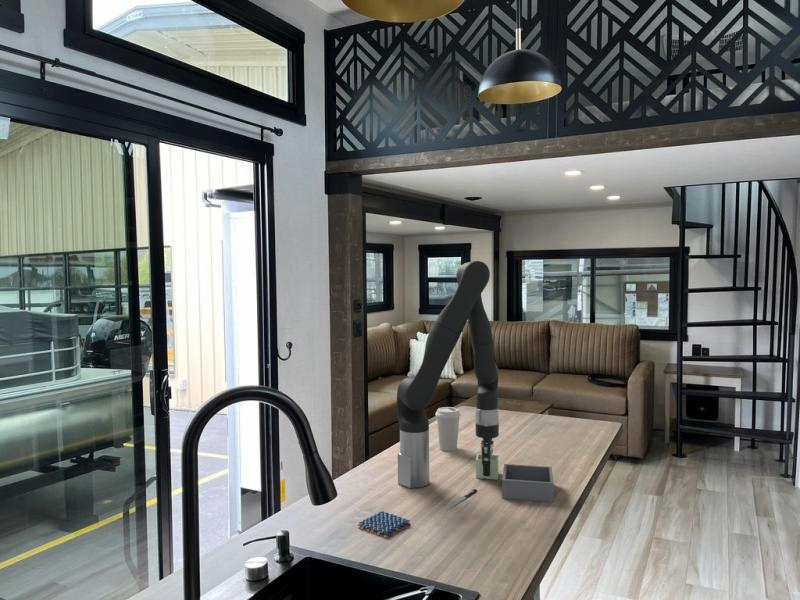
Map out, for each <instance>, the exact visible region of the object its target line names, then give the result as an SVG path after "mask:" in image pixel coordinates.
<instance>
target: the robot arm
mask: <svg viewBox="0 0 800 600" xmlns="http://www.w3.org/2000/svg"><path fill="white" fill-rule="evenodd" d="M490 276H491V274H490V269H489V266H488V265H487V263H485V262H483V261H481V260H480V261H479V260H473V261H468V262H465V263H463V264H461V265H460V266H459V267H458V269H457V271H456V276H455V277H456V281H457V284H458V286H457V287H456V291H455V292H454V294H453V296H452V297H451V299H450V300H449V302H448V303H447V304H446V306H445V307H444V308H443V309H442V310H441V312H440V313H439V315H438V316H437V317H436V319H435V321H434V322H433V324H432V327H431V329H430V331H429V333H428V335H427V338H426V341H425V347H424V353H423V358H422V362H421V365H420V367H419V369H418V370H417V372H416V375H415V377H411V376H410V377H406V378H404V379H402V380H401V382H400V383H399V384H398V386H397V391H396V405H397V407H396V408H397V409H396V410H397V412H396V413H397V419H398V423H399V453H397V484H399V485H402V486H404V487H406V488H408V489H413V488H414V489H415V488H424V487H426V486H429V484H430V422H429V418H428V417H427V414H426V408H427V407H428V406H429V405H430V403H431V401H432V399H433V397H434V395H435V392H436V390H437V386H438V383H439V381H440V378H441V376H442V373H443V371H444V370H445V368H446V365H447V363H448V361H449V360H450V357H451V355H452V353H453V351H454V349H455V347H456V346H457V343H458V342H459V339H460V337H461V336H462V333H463V330H464V328H465V326H466V324H467V323H468V329H469V335H470V341H471V347H472V350H473V351H472V353H473V367H474V369H473V370H474V375H475V378H476V379H477V391H476V396H475V397H476V398H475V400H476V403H475V405H476V407H475V408H476V409H475V437H478V438H480V439H482V440H481V442H480V450H481V452H480V454H481V456H482V464H483V475H484V476H490V464H491V462H490V458H491V457H492V455H493V452H494V442H495V441H494V440H493V439H496V438H498V437H499V435H500V429H499V427H500V419H499V417H500V416H499V397H498V395H499V394H498V389H499V388H498V387H499V386H498V385H499V372H500V371H499V366H498V365H497V363H496V359H495V355H494V348H495V346H494V344H495V342H494V337H493V331H492V326H491V323H490V320H489V317H488V314H487V312H486V310H485V307H484V304H483V303H484V302H483V298H482V293H483V291H484V290H485V288H486V287H487V285H488V284H489V281H490ZM484 458H488V461H485V460H484Z"/></svg>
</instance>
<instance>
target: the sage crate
mask: <svg viewBox="0 0 800 600" xmlns="http://www.w3.org/2000/svg"><path fill="white" fill-rule="evenodd" d="M499 457H500V456H499V454H498V455H497V454H492V457H491V458H490V462H491V464H490V476H484V475H483V464H482V456H481V453H477V454H476V458H475V478H476V479H483V478H486V480H497V479H499V472H500V471H499V470H500V469H499V467H500V466H499V462H500V461H499V459H500V458H499ZM484 460H485V461H488V458H484Z"/></svg>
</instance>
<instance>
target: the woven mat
mask: <svg viewBox="0 0 800 600" xmlns="http://www.w3.org/2000/svg"><path fill="white" fill-rule="evenodd" d="M410 522H411V520H410V519H407V518H406V517H405V518H403V517H402V516H398V515H395V514H394V513H389V512H386V511H383V510H382V511H379V512H378V513H375V514H374V515H371V516H370V517H367V518H366V519H363V520H362V521H358V524H357V526H358V529H361V530H363V531H364V532H366V531H367V532H368V533H369V532H370V533H371V534H374V535H377V536H379V537H380V538H382V537H383V538H384V539H385V538H386V539H387V538H389V537H392V536H393V535H394V534H395V533H398V532H399V531H401V530H403V529H405V528H406V527H408V526H410V525H411V523H410Z"/></svg>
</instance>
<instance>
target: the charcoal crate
mask: <svg viewBox="0 0 800 600" xmlns="http://www.w3.org/2000/svg"><path fill="white" fill-rule="evenodd" d="M502 471H503V472H502V480H501V483H502V484H501V487H502V488H501V489H502V490H501V491H502V492H501V494H502V496H501V498H502V499H507V500H520V501H534V502H544V503H545V502H547V503H548V502H549V503H554V477H553V467H552V466H547V465H545V466H544V465H532V464H531V465H529V464H512V463H504V464H503V470H502Z"/></svg>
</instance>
